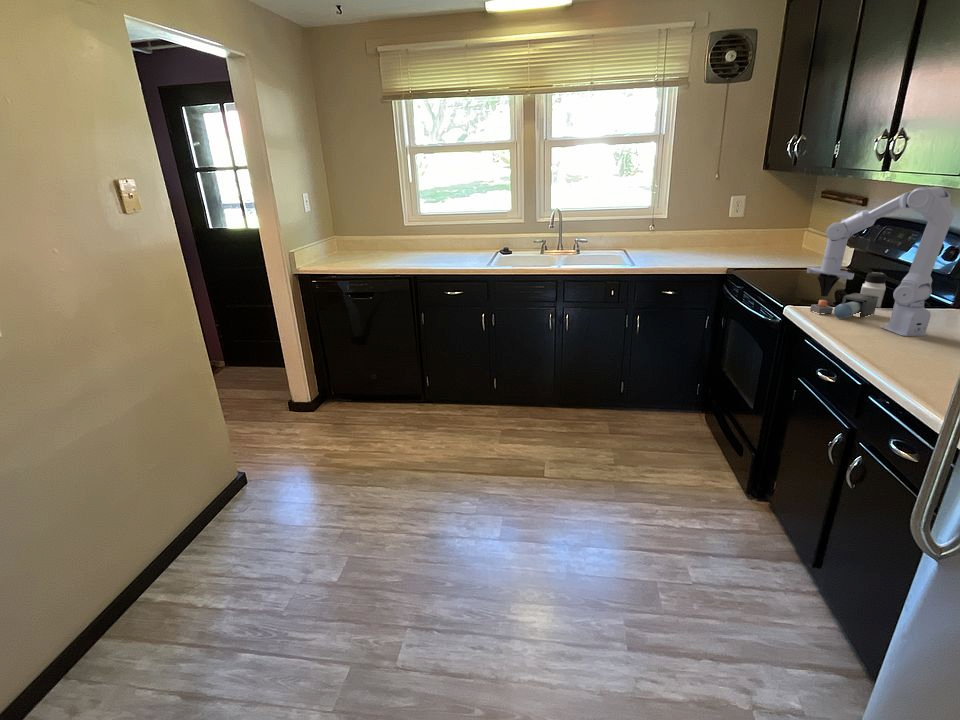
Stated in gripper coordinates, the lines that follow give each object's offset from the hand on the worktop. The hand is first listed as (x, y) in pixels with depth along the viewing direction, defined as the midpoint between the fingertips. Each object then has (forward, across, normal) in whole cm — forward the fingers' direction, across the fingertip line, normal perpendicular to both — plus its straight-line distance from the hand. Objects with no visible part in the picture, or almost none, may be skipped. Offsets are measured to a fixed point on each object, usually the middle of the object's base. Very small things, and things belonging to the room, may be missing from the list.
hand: (824, 295), depth 183 cm
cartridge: (+6, -8, -4) cm, 11 cm away
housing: (+6, -8, -8) cm, 13 cm away
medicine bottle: (+6, -5, -26) cm, 27 cm away
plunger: (+5, 0, 0) cm, 5 cm away
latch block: (+6, 0, 0) cm, 6 cm away
